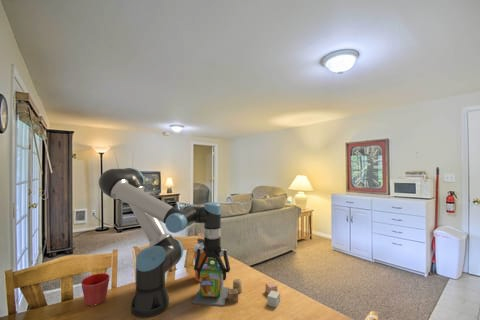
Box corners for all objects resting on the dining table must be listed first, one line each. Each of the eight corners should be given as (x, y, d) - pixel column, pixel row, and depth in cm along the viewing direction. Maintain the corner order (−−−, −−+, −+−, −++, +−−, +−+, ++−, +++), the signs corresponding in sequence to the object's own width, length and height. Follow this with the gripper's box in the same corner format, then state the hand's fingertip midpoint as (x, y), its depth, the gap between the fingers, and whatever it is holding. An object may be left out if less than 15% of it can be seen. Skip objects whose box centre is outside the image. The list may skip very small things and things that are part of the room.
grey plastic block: (267, 305, 102) (267, 295, 102) (271, 299, 106) (271, 290, 106) (276, 307, 100) (276, 298, 100) (280, 301, 104) (280, 292, 104)
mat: (192, 303, 102) (192, 302, 102) (201, 286, 116) (201, 285, 116) (224, 306, 101) (224, 304, 101) (229, 288, 114) (229, 287, 114)
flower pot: (75, 309, 98) (75, 286, 98) (88, 295, 108) (88, 273, 108) (103, 307, 99) (103, 284, 99) (113, 293, 110) (113, 272, 110)
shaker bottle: (202, 273, 131) (202, 236, 131) (214, 277, 125) (214, 239, 126) (189, 279, 123) (190, 241, 124) (202, 284, 118) (202, 244, 118)
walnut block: (228, 303, 103) (229, 294, 103) (228, 298, 107) (228, 289, 107) (238, 302, 103) (238, 293, 103) (236, 297, 107) (236, 288, 107)
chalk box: (199, 296, 104) (199, 263, 104) (204, 286, 113) (204, 254, 113) (220, 297, 103) (220, 263, 104) (223, 286, 113) (223, 255, 113)
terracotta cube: (269, 296, 108) (269, 287, 108) (265, 291, 112) (265, 283, 112) (277, 294, 110) (277, 285, 110) (272, 290, 114) (272, 281, 114)
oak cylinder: (232, 293, 110) (232, 282, 110) (233, 289, 114) (233, 278, 114) (240, 294, 110) (241, 283, 110) (241, 289, 114) (242, 279, 114)
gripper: (186, 238, 106) (186, 288, 106) (234, 240, 104) (234, 292, 103) (192, 233, 114) (191, 280, 113) (237, 235, 111) (236, 283, 111)
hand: (211, 286), depth 108 cm, fingers closed on chalk box, 9 cm apart
